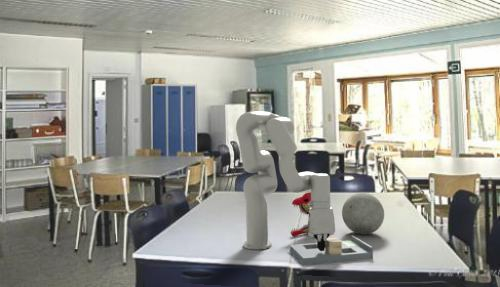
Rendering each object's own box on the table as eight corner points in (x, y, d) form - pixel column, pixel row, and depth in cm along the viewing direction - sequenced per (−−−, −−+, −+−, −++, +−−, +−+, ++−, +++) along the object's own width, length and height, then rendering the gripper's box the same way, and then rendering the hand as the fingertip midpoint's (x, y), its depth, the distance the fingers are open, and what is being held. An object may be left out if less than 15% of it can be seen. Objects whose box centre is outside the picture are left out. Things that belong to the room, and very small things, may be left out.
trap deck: (290, 250, 179) (289, 240, 178) (353, 245, 184) (352, 235, 184) (303, 264, 161) (303, 253, 161) (372, 258, 167) (372, 247, 166)
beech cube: (325, 250, 169) (325, 238, 169) (336, 249, 170) (336, 237, 170) (329, 254, 164) (329, 242, 164) (341, 253, 165) (341, 241, 165)
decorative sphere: (385, 230, 208) (385, 190, 207) (382, 241, 190) (382, 197, 189) (345, 227, 216) (345, 189, 215) (338, 237, 197) (338, 195, 196)
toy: (286, 235, 203) (285, 194, 202) (324, 226, 219) (324, 188, 218) (296, 238, 197) (295, 196, 196) (335, 229, 213) (334, 190, 212)
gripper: (305, 207, 161) (306, 254, 162) (342, 205, 164) (342, 251, 165) (299, 204, 168) (300, 248, 169) (334, 201, 171) (335, 246, 172)
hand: (321, 250), depth 167 cm, fingers closed
